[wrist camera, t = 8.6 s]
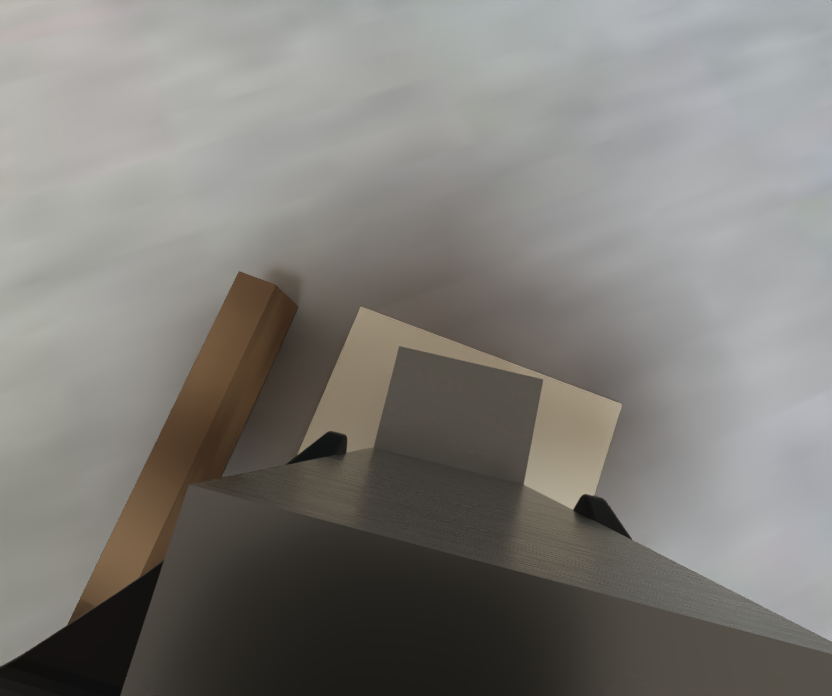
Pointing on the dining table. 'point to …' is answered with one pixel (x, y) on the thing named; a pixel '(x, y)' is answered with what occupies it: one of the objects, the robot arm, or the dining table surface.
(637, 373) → the dining table surface
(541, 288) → the dining table surface
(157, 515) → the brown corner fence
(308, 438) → the pad
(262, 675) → the upright grey pillar block
